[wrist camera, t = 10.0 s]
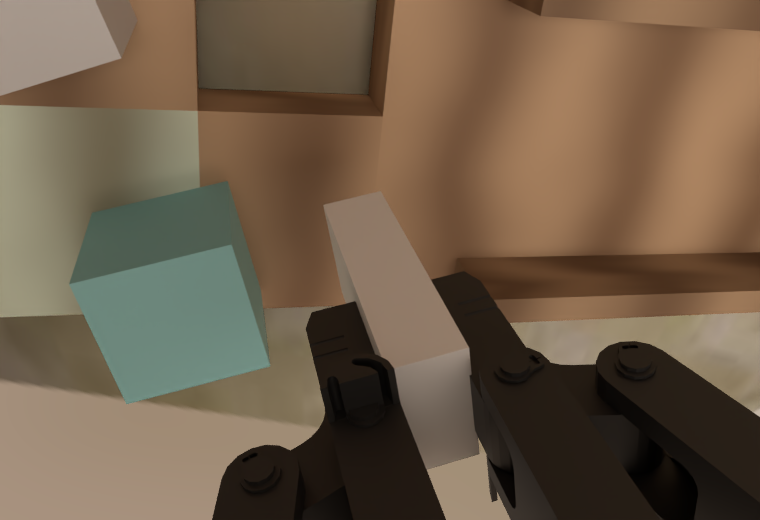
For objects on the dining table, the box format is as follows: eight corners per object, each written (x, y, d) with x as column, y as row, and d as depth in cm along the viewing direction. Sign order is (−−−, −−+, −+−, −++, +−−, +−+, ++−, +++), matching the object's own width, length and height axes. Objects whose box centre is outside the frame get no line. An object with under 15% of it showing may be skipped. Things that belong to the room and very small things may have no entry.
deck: (-65, 281, 25) (-126, 377, 21) (-175, -166, 19) (-302, -172, 14) (731, 263, 33) (816, 329, 29) (856, -56, 26) (995, -37, 22)
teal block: (138, 321, 25) (126, 404, 21) (92, 212, 23) (69, 284, 19) (260, 290, 26) (270, 366, 22) (227, 180, 23) (231, 244, 19)
